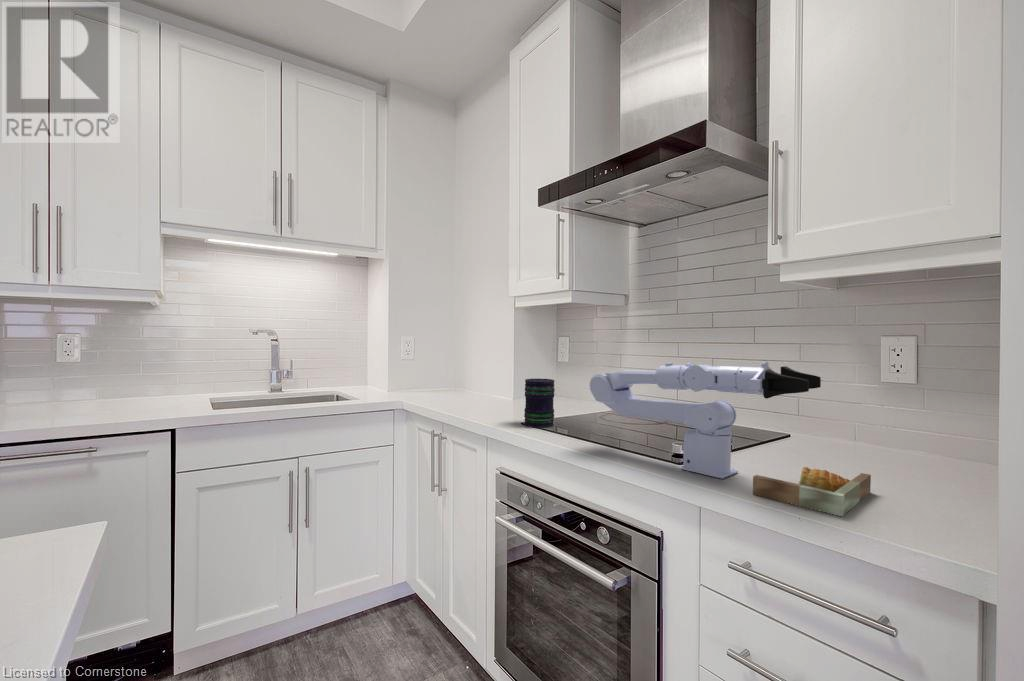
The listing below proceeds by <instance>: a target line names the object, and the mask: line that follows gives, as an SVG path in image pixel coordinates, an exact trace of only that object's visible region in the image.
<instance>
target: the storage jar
mask: <svg viewBox="0 0 1024 681" xmlns="http://www.w3.org/2000/svg"><path fill="white" fill-rule="evenodd" d="M524 382H525V384H524V397H525V408H524V414H523V417H524V426H525V427H528V428H531V429H548V428H552V427H554V426H555V425H554V421H555V420H554V419H555V408H554V398H555V390H556V389H555V379H551V378H526V379H525V380H524Z"/></svg>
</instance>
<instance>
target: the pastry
mask: <svg viewBox="0 0 1024 681" xmlns="http://www.w3.org/2000/svg"><path fill="white" fill-rule="evenodd" d="M799 478H800V479H799V481H798V484H800V485H804V486H809V487H813V488H818V489H822V490H827V491H831V492H835V491H837V490H838V489H840V488H841V487H842V486H844V485H845V484H847V483H848V482H850V481H851V480H850V479H848V478H844V477H843V476H841V475H839V474H836V473H833V472H830V471H828V470H825V469H818V468H812V469H811V468H809V467H807V466H803V467H802V470H801V475H800V477H799Z"/></svg>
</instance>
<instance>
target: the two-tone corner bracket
mask: <svg viewBox="0 0 1024 681" xmlns="http://www.w3.org/2000/svg"><path fill="white" fill-rule="evenodd" d="M871 477H872V475H871V474H868V473H863V472H862V473H860V474H858V475H857V476H855V477H853V478H852V479H851V480H850V482H848V483H847V484H845V485H844V486H842V487H841V488H840V489H838V490H837V491H835V492H831V491H827V490H822V489H818V488H813V487H809V486H804V485H800V484H799V483H795V482H790V481H786V480H781V479H777V478H772V477H768V476H763V475H759V474H755V475H753V477H752V495H754V496H757V495H758V496H759V497H761V496H762V498H765V497H766V498H765V499H769V500H773V499H774V500H773V501H777V500H778V502H781V501H783V502H782V503H785V502H787V503H786V504H789V503H792V504H791V505H793V504H796V505H795V506H797V505H799V506H798V507H801V506H804V507H803V508H805V507H808V508H807V509H809V508H812V509H811V510H813V509H816V510H815V511H817V510H820V511H819V512H821V511H823V512H822V513H825V512H827V513H826V514H828V513H831V514H830V515H832V514H834V516H836V515H838V516H837V517H840V516H842V517H843V516H845V514H847V513H846V512H849V511H850V510H852V508H854V507H856V505H857V504H858V503H860V502H861V501H862V500H863V499H865V498H866V497H867V496H868V495H869V494H870V493H871V484H872V483H871V482H872V479H871Z"/></svg>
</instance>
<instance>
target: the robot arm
mask: <svg viewBox="0 0 1024 681" xmlns="http://www.w3.org/2000/svg"><path fill="white" fill-rule="evenodd" d="M821 378H822V377H821V376H818V375H815V374H809V373H805V372H801V371H797V370H794V369H792V368H790V367H789V366H780V373H778V372H776V371H774V370H773V369H772V368H770V367H769V362H768V361H761V366H760V367H759V366H758V367H757V366H737V365H736V366H735V365H719V366H717V365H709V364H706V363H702V364H701V363H700V364H694V365H693V363H691V362H688V363H685V364H683V365H681V364H676V365H674V363H673V362H665V364H664V365H660V366H659V367H658V368H657V369H656V370H638V369H637V370H636V369H635V370H633V369H628V370H617V371H610V372H606V373H604V374H602V373H596V374H595V375H593V376H592V377H591V378H590V381H589V391H590V393H591V394H592V397H593V398H594V400H595V401H596V402H598V403H601V404H604V405H605V406H606V407H608V408H609V409H610V410H611V411H612V412H615V413H616V414H617V415H618V416H621V417H631V418H636V419H637V418H638V419H645V420H646V419H647V420H653V421H662V422H670V423H680V424H684V425H685V426H686V427H692V428H689V429H688V430H687V431H686V432H685V435H684V438H683V456H682V458H683V459H682V460H683V461H682V462H683V464H682V466H681V469H682V470H684V471H688V472H693V473H698V474H701V475H705V476H709V477H714V478H717V479H725V478H727V477H729V476H732V475H734V474H737V473H738V472H739V470H738V469H735V468H732V464H731V459H732V430H731V426H733V425H734V424H735V422H736V420H737V411H736V409H735V407H734V405H732V403H730V402H729V401H727V400H721V399H718V400H715V401H713V402H708V403H707V402H696V403H695V402H684V401H683V402H682V401H669V400H659V399H657V400H656V399H647V398H637V397H636V398H635V397H634V395H633V392H632V389H631V388H633V385H639V384H640V385H641V384H642V385H647V384H649V385H650V384H655V385H657V386H658V387H659V388H660V389H662V390H683V391H689V390H691V391H693V392H696V393H698V392H701V391H705V390H706V391H707V390H708V391H717V392H721V393H722V392H723V393H732V394H733V393H734V394H746V395H757V396H758V395H760V396H762V397H764V399H767V400H768V399H770V398H772V397H777V396H781V395H787V394H788V395H789V394H790V395H791V394H800V393H808V392H809V391H810V389H811V390H812V389H818V388H821V382H822V380H821Z"/></svg>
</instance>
